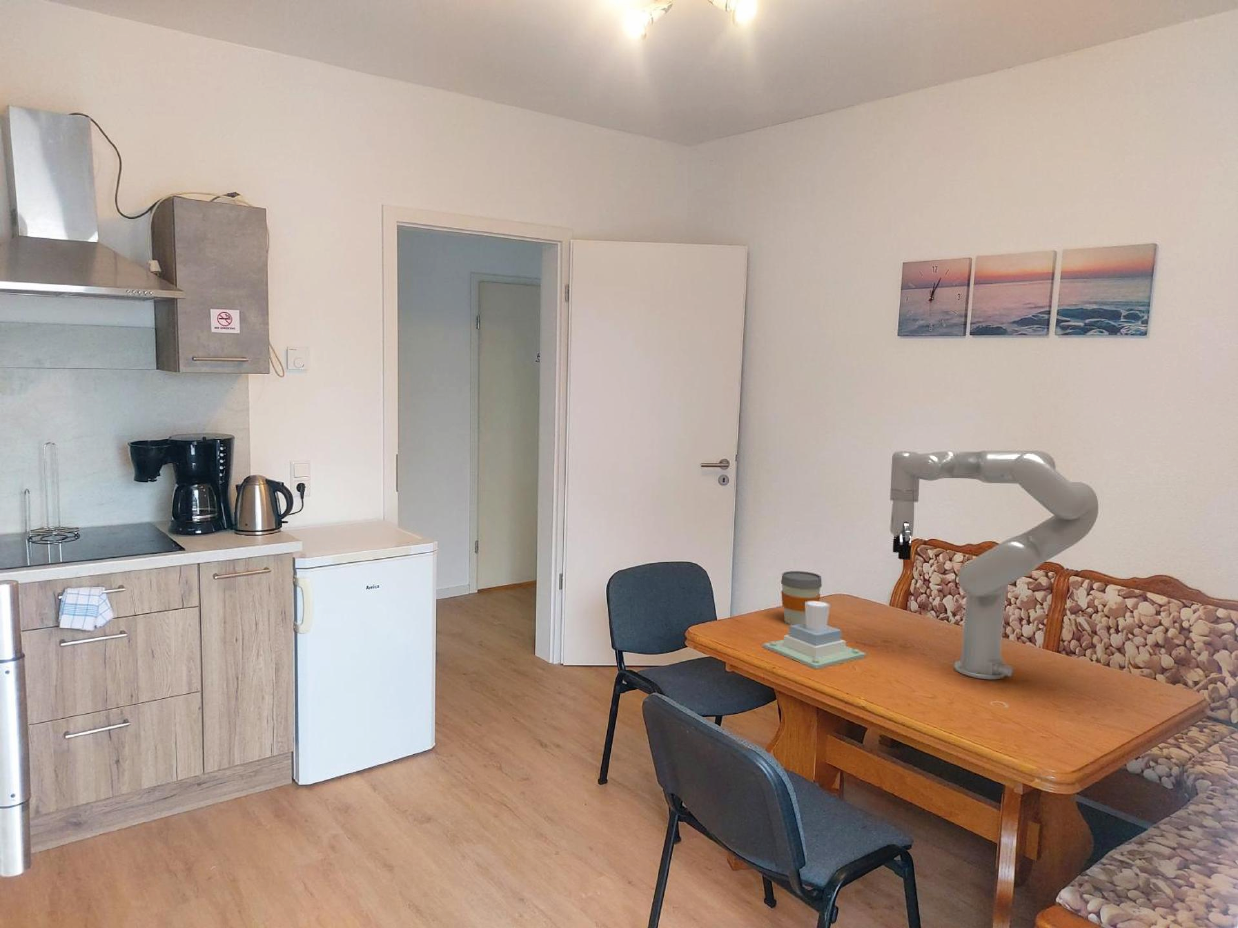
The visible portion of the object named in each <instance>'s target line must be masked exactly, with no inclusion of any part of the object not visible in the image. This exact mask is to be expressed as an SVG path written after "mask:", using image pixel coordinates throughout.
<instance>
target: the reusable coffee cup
mask: <svg viewBox="0 0 1238 928" xmlns="http://www.w3.org/2000/svg"><path fill="white" fill-rule="evenodd" d="M780 583H781V585H782V586H781V588H782V590H781V605H782V607H783V615H784V622H785V624H787V625H788V624H789V625H790V626H791V625H796V624H801V623H806V617H805V602H807V601H820V598H821V594H820V591H821V588H822V587H823V586H822V585H823V584H822V583H823V582H822V576H821V575H820V574H817V573H813V572H809V571H799V570H791V571H785V572H783V573H782V574H781V580H780Z"/></svg>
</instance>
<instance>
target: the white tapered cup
mask: <svg viewBox="0 0 1238 928" xmlns="http://www.w3.org/2000/svg"><path fill="white" fill-rule="evenodd" d="M830 608H831V605H830V603H828V602H825V601H821V600H819V601H807V602H805V617H806V628H807V629H810V630H814V631H824V630H826V628H827V625H828V621H829V614H830Z"/></svg>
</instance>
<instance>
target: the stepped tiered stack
mask: <svg viewBox="0 0 1238 928" xmlns="http://www.w3.org/2000/svg"><path fill="white" fill-rule="evenodd" d="M841 638H842V630H841V629H839V628H835V627H834V626H830V625H828V624H827V628H826V630H824V631H814V630H810V629H807V628H806V623H801V624H796V625H791V624H790V625H789V633H788V634H784V635H783V639H780V640H776V641H774V640H771V641H770V642H766V643H763V645H762V648H763V647H764V648H763V649H766V650H768V649H769V650H768V651H771V650H772V651H771V652H773V651H774V652H773V653H775V652H777V653H776V654H777V655H780V654H781V656H783V657H785V656H786V657H785V658H788V659H790V660H792V659H794V660H793V661H795V660H796V661H795V662H797V661H798V662H797V663H801V664H802V665H805V666H807V667H809V668H812V669H814V670H819V669H822V668H826V667H830V666H834V665H839V664H842V663H846V662H851V661H855V659H856V660H859V659H864V658H866V657H867V652H863V651H860V649H859V648H852V647H849V646H847V645H846V643H847V641H846V640H844V639H841Z"/></svg>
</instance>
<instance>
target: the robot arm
mask: <svg viewBox="0 0 1238 928" xmlns="http://www.w3.org/2000/svg"><path fill="white" fill-rule="evenodd" d="M1056 466H1057V465H1056V462H1055V460H1054V458H1053V456H1051V455H1050V454H1049V453H1047V452H1045V451H1043V450H1042V451H1041V450H980V451H935V452H928V453H918V452H915V451H907V450H905V451H904V450H903V451H902V450H901V451H896V452H894V453H893V454H892V457H891V471H890V473H891V474H890V475H891V476H890V496H889V500H890V501H892V506H891V517H890V526H889V527H890V528H889V530H890V533H891V534H892V536H893V539H892V540H893V541H892V553H894V554H895V553H896V554H897V555H898V556H897V559H898V560H907V561H910V560H911V558H912V557H911V555H912V542H911V541H912V539H911V538H912V537H913V536H914V523H915V522H914V521H915V503H918V502H919V495H920V494H919V493H920V480H924V481H928V482H929V481H930V482H932V481H937V480H941V479H942V480H943V479H967V480H968V479H970V480H978V481H981V482H982V483H985V484H986V483H987V484H1015V485H1017V484H1018V485H1019V486H1020V487H1021V488H1022V489H1023V490H1025V492H1027V494H1028V495H1030V496H1031V497H1032V498H1033V499H1035V501H1037V502H1038V503H1039V504H1040V505H1041V506H1043V508H1045V510H1047V511H1048V512H1049V513H1051V514H1052V516H1051V517H1049V518H1048V519H1046V520H1044V521H1042V522H1041V523H1039V524H1038V525H1036V526H1034V527H1032V528H1031V529H1029V530H1027V531H1025V532H1023V533H1021V534H1019V535H1016V536H1012V537H1010V538H1009V539H1006V540H1004V541H1002V542H1000V543H999V544H997V545H995V546H994V547H991V548H990V549H989V550H987V551H985V552H983V553H982V554H980V555H978V556H976V557H975V558H973V559H971V560H969V561H967V562H965V563H964V564H963V565H962V566H961V568H960V570H959V572H958V574H957V583H958V585H959V588H960V589H961V591H963V592H964V593H965V594H966V598H965V607H964V617H963V629H962V630H963V631H962V643H961V644H962V645H961V654H960V655H961V656H960V657H961V659H959V660H956V661H955V662H954V665H953V667H954V669H955V671H956V672H958V673H960V674H961V675H965V676H968V677H971V678H975V679H983V680H999V679H1003V678H1005V676H1007V677H1011V676H1012V674H1013V670H1014V669H1013V668H1014V667H1012V666H1009V665H1006V664H1005V658H1003V657H1001V654H1002V643H1003V641H1002V640H1003V628H1004V618H1005V610H1006V609H1005V607H1006V599H1007V594H1008V593H1007V592H1008V588H1009V585H1011V584H1013V583H1014V582H1016V581H1018V580H1020V579H1022V578H1023V577H1026V576H1027V575H1029V574H1031V573H1032V572H1033V571H1034V570H1036V569H1037V568H1039V566H1041V565H1042V564H1043V563H1045V562H1047V561H1049V560H1051V559H1052V558H1054V557H1056V556H1058V555H1060V554H1062V553H1063V552H1065V551H1066V550H1067V549H1070V548H1071V547H1072V546H1075V545H1076V544H1078V543H1079V542H1080V541H1081V540H1083V539H1084V538H1085V537H1086V536H1088V534H1089V533H1090V532H1091V530H1092V528H1093V527H1094V526H1095V523H1096V521H1097V518H1098V515H1099V500H1098V497H1097V494H1096V492H1095V490H1094V489H1093V488H1092V487H1091V486H1090V485H1089V484H1087V483H1084V482H1080V481H1073V482H1071V481H1070V480H1069V479H1067V478H1066V477H1065V476H1064V475H1062V474H1061V473H1060V472H1059V471H1057V470H1056Z"/></svg>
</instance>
